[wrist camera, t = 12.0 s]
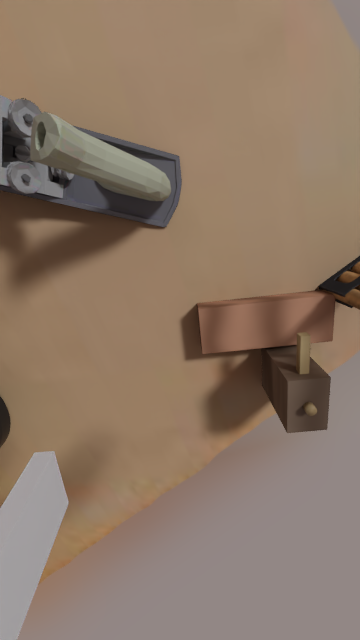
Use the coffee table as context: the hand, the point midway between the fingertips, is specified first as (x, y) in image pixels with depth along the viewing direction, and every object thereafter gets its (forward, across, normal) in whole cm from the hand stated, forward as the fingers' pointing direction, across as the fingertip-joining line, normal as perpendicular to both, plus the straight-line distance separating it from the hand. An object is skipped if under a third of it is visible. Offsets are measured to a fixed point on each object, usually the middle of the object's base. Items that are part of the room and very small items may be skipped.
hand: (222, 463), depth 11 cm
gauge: (+23, +11, -6) cm, 26 cm away
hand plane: (+24, -15, +17) cm, 33 cm away
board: (+23, +9, -2) cm, 25 cm away
